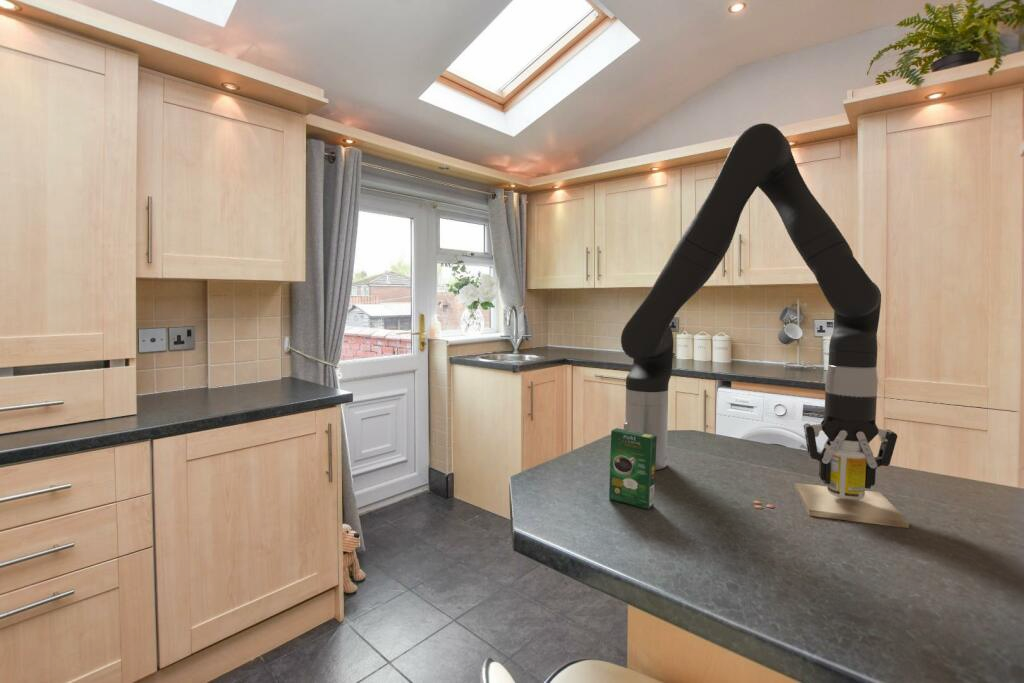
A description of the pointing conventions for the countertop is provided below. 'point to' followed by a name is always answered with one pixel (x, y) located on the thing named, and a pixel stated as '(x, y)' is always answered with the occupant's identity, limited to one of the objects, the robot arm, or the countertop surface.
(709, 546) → the countertop surface
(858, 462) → the supplement bottle
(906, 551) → the countertop surface
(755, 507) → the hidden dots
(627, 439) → the coffee box
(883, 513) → the oak board
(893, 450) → the robot arm
